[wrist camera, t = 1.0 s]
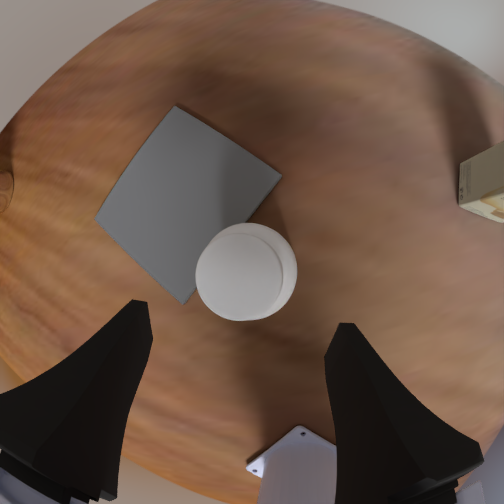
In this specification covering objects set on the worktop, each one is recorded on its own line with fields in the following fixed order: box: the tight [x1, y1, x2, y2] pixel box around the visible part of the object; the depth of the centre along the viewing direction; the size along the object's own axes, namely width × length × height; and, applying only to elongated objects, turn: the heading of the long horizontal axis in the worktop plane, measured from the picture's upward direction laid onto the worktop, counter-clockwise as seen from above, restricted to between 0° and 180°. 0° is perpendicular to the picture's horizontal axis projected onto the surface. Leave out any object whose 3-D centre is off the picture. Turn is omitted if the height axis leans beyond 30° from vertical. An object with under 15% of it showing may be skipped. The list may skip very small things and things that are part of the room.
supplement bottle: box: [195, 223, 297, 321], centre depth 17 cm, size 5×5×10 cm
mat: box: [95, 106, 282, 305], centre depth 23 cm, size 12×13×1 cm
